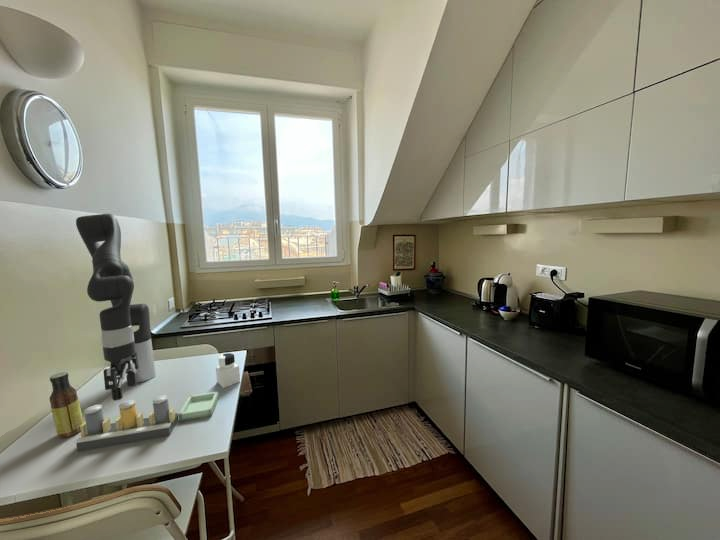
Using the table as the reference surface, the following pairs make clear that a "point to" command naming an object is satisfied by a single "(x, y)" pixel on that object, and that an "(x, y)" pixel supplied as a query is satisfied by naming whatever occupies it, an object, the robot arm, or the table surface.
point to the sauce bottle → (65, 406)
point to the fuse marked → (128, 414)
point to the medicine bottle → (227, 370)
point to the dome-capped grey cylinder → (94, 420)
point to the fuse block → (126, 432)
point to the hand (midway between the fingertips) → (125, 392)
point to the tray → (199, 406)
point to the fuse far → (161, 409)
